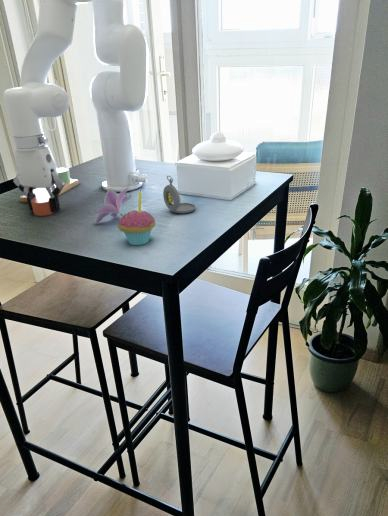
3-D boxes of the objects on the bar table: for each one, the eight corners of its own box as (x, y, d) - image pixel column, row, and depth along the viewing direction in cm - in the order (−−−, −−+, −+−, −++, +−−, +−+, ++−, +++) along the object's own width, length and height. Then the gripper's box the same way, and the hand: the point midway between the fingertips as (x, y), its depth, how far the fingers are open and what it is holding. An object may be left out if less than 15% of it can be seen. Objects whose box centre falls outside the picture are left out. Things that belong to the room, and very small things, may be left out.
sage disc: (74, 179, 155) (72, 168, 153) (63, 185, 150) (61, 173, 148) (57, 178, 157) (55, 167, 155) (46, 184, 152) (43, 172, 150)
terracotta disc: (61, 208, 136) (58, 196, 134) (48, 216, 131) (45, 203, 129) (42, 207, 138) (39, 194, 135) (29, 214, 133) (25, 201, 131)
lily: (141, 217, 130) (122, 184, 127) (149, 213, 119) (130, 177, 116) (103, 239, 128) (83, 206, 125) (108, 237, 117) (87, 201, 114)
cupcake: (141, 232, 118) (136, 182, 112) (164, 240, 113) (160, 189, 107) (113, 242, 114) (106, 191, 107) (136, 252, 109) (129, 199, 102)
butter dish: (230, 200, 136) (230, 140, 127) (176, 193, 143) (173, 136, 134) (256, 183, 148) (257, 127, 139) (205, 177, 156) (203, 124, 147)
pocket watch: (198, 207, 132) (197, 169, 126) (188, 217, 125) (186, 178, 120) (171, 205, 134) (168, 168, 129) (159, 215, 128) (156, 177, 122)
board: (78, 184, 155) (78, 179, 155) (43, 203, 140) (42, 198, 139) (57, 182, 158) (56, 178, 157) (20, 202, 142) (19, 197, 142)
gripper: (66, 139, 124) (78, 207, 134) (10, 137, 129) (26, 203, 139) (50, 146, 118) (64, 217, 128) (-8, 144, 123) (10, 212, 133)
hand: (44, 209), depth 134 cm, fingers closed on terracotta disc, 6 cm apart
